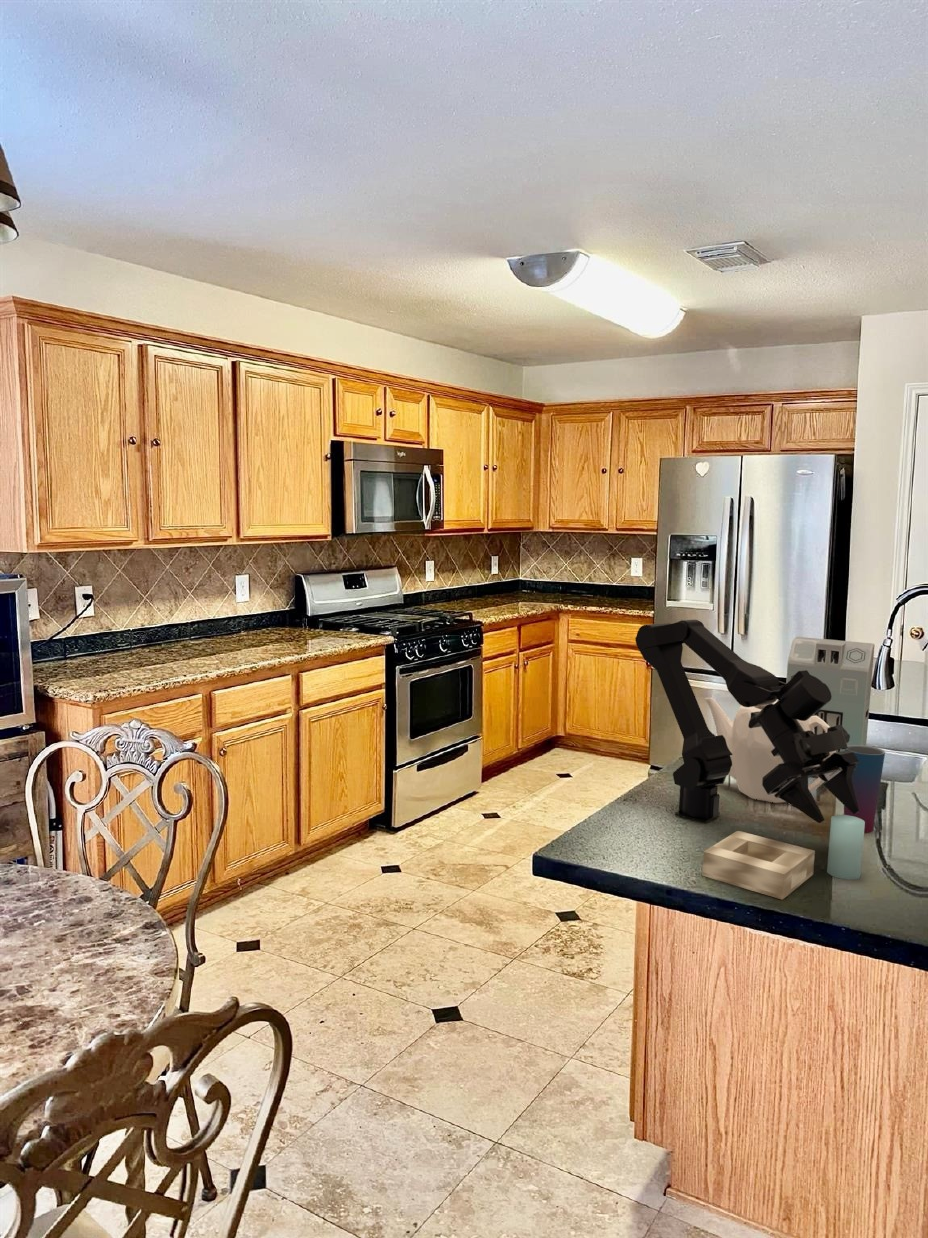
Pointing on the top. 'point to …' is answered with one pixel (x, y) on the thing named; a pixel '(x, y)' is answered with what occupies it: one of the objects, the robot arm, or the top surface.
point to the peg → (845, 847)
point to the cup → (866, 782)
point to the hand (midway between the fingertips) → (839, 817)
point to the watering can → (754, 749)
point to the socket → (758, 864)
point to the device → (838, 681)
